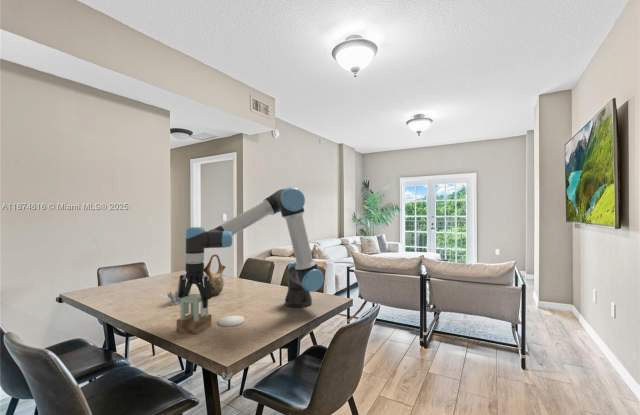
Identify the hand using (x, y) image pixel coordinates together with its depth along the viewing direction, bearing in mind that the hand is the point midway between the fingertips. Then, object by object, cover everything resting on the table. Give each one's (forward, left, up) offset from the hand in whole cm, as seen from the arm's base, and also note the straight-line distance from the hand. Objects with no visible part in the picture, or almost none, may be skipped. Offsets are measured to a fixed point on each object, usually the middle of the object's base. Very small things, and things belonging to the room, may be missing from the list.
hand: (194, 314), depth 134 cm
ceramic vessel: (+24, -51, -6) cm, 57 cm away
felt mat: (-11, -12, -6) cm, 17 cm away
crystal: (+34, -31, -7) cm, 46 cm away
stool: (0, 0, -1) cm, 1 cm away
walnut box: (0, 0, -6) cm, 6 cm away
